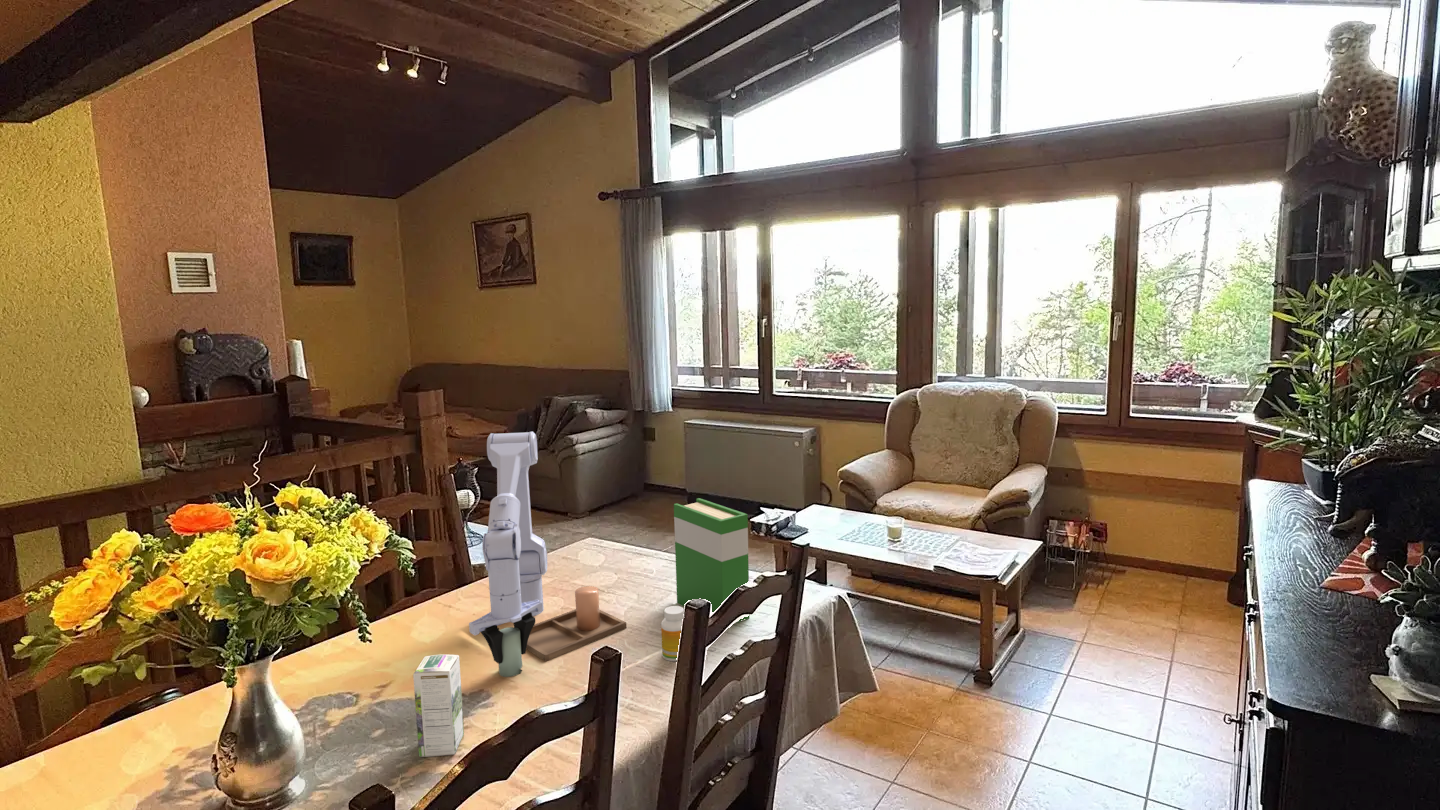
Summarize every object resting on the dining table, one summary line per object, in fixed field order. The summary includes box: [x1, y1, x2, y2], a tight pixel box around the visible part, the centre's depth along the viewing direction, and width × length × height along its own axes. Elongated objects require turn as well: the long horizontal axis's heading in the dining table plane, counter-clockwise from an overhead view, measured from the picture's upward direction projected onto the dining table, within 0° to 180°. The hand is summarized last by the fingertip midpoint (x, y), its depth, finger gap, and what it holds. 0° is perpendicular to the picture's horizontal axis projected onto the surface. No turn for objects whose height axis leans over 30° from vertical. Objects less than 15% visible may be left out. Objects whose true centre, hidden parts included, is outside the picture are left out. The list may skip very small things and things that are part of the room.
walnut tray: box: [526, 608, 627, 662], centre depth 158 cm, size 14×20×2 cm
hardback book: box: [673, 497, 750, 622], centre depth 168 cm, size 18×7×24 cm, turn 38°
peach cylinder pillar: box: [574, 585, 600, 631], centre depth 161 cm, size 5×5×8 cm
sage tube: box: [498, 626, 523, 678], centre depth 143 cm, size 4×4×8 cm
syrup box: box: [412, 654, 465, 758], centre depth 119 cm, size 6×6×14 cm
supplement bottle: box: [660, 605, 685, 662], centre depth 148 cm, size 5×5×10 cm
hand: (509, 657), depth 144 cm, fingers closed on sage tube, 4 cm apart
